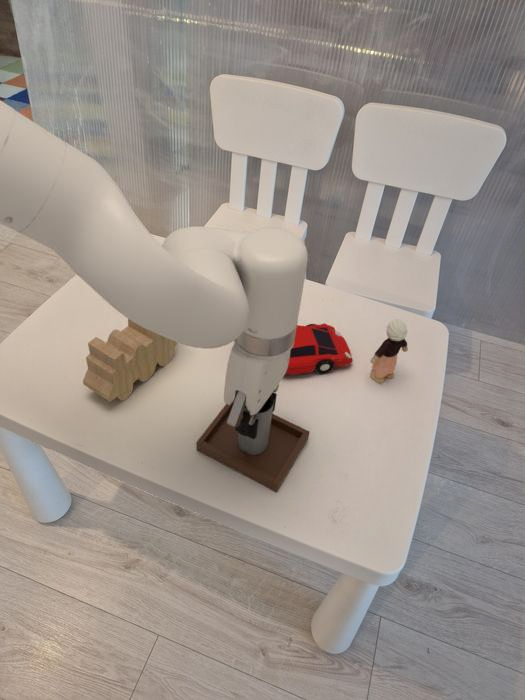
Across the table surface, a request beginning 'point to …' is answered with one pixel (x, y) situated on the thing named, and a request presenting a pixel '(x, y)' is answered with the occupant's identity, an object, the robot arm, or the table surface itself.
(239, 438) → the grey hollow cylinder
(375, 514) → the table surface
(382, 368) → the grandmother figurine
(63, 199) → the robot arm
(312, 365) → the toy car
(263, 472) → the tray
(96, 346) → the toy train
